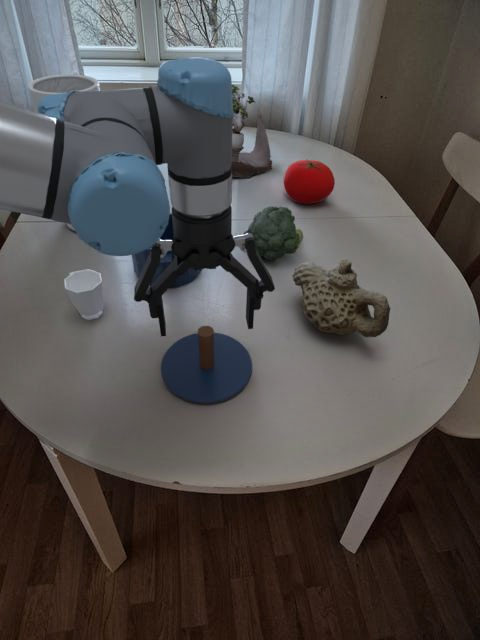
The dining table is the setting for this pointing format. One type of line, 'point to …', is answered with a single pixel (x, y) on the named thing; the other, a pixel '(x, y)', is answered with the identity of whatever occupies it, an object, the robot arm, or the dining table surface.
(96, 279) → the cup
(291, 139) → the dining table surface
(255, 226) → the vegetable
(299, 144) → the dining table surface
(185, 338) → the pot lid
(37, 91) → the vase
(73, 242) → the dining table surface
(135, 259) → the pot
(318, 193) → the tomato
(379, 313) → the teapot
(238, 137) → the potted plant
